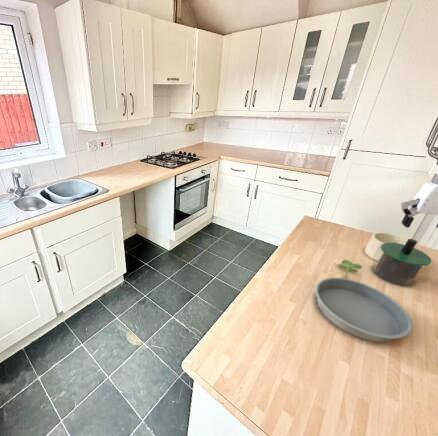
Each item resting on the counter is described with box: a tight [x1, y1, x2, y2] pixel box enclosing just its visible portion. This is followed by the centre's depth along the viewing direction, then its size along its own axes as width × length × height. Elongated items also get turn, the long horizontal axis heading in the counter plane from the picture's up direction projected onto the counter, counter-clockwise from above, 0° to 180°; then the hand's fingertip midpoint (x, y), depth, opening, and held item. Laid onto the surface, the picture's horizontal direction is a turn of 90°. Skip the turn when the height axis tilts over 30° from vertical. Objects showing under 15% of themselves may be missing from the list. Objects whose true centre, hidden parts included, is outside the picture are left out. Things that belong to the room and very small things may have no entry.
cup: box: [373, 252, 423, 286], centre depth 93 cm, size 11×11×10 cm
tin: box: [364, 231, 408, 262], centre depth 104 cm, size 13×13×8 cm
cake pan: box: [315, 277, 414, 343], centre depth 79 cm, size 25×25×4 cm
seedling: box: [337, 259, 362, 279], centre depth 96 cm, size 7×8×7 cm
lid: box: [381, 238, 432, 267], centre depth 89 cm, size 14×14×7 cm
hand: (422, 227), depth 85 cm, fingers open, 9 cm apart
